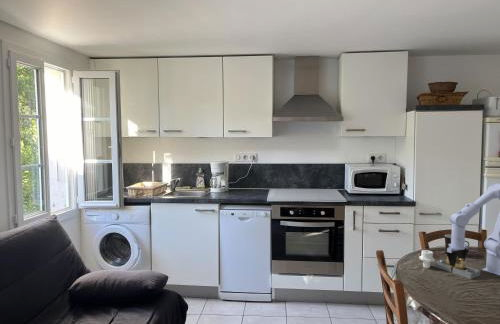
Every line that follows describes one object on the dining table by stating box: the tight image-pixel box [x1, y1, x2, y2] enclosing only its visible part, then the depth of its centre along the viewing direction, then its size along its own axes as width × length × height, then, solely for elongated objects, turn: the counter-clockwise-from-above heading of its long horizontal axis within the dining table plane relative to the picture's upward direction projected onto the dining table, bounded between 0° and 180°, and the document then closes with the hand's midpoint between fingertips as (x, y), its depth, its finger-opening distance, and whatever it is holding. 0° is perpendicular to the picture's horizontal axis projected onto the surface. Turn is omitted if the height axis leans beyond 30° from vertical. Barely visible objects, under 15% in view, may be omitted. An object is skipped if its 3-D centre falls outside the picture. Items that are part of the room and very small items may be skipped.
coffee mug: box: [444, 233, 470, 253], centre depth 198 cm, size 12×9×10 cm
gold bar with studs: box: [445, 255, 467, 270], centre depth 175 cm, size 8×3×7 cm, turn 31°
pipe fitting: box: [418, 249, 436, 269], centre depth 179 cm, size 6×7×8 cm
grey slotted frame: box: [433, 258, 481, 280], centre depth 174 cm, size 18×8×3 cm, turn 31°
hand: (456, 264), depth 174 cm, fingers open, 7 cm apart
